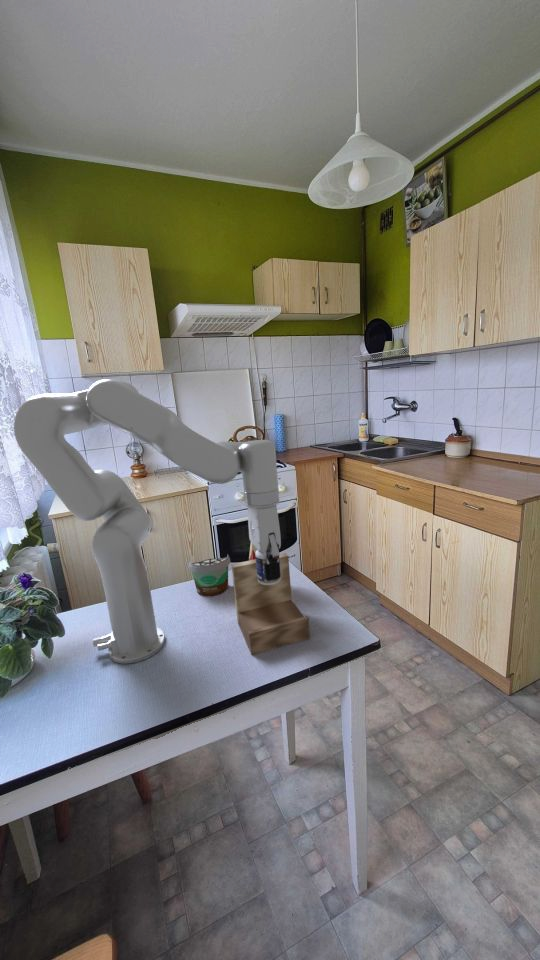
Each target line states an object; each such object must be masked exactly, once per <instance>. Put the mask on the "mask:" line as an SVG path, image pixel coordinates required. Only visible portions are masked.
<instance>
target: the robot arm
mask: <svg viewBox="0 0 540 960" xmlns="http://www.w3.org/2000/svg"><path fill="white" fill-rule="evenodd" d="M107 425H110V426H112V427H114V428H116V429H118V430H120V431H121V432H124V433H125V434H127V435H130V436H131V437H132V438H135V439H137V440H139V441H141V442H143V443H145V444H146V445H148V446H151V447H152V448H153V449H155V451H157V452H158V453H160V454H161V455H163V457H166V459H168V460H169V461H170V462H172V463H173V464H175V465H177V466H178V467H180V468H182V469H183V470H186V471H187V472H188V473H191V474H193V475H195V476H197V477H198V478H201V479H203V480H205V481H207V482H209V483H212V484H216V485H217V484H218V485H223V484H227V483H230V482H231V481H233V480H234V479H235V478H236V477H237V475H238V473H241V474H242V482H243V494H244V503H245V504H244V505H245V507H247V520H248V521H247V524H248V538H249V541H250V544H251V543H252V544H253V545H254V547H255V548H256V550H258V551H259V552H260V553H263V552H264V555H265V561H266V563H264V566H265V576H266V580H267V581H269V580H273V579H278V578H280V569H279V555H280V554H281V553H280V551H279V550H280V549H281V545H282V543H281V542H282V541H281V538H282V537H281V528H280V522H279V521H280V520H279V512H278V508H277V506H278V505H279V504H280V493H279V478H278V466H277V465H278V464H277V455H276V454H277V453H276V445H275V443H274V442H273V441H272V440H269V439H255V440H253V439H252V440H248V441H244V442H242V441H218V442H214V441H213V440H210V439H209V438H208V437H207V438H206V437H205V436H202V435H201V434H199V433H197V432H196V431H194V429H193V430H192V429H191V428H190V427H189V426H187V425H186V424H185V423H184V422H183V421H182V420H181V418H180V417H179V416H178V415H177V414H176V413H175V412H174V411H172V410H171V409H170V408H168V407H165V406H163V405H162V404H160V403H159V402H156V401H154V400H152V399H150V398H149V397H147V396H145V395H143V394H141V393H140V392H139V391H138V390H137V387H136V386H134V385H132V384H131V383H129V382H127V381H124V380H118V379H117V380H116V379H107V378H106V379H100V380H98V381H96V382H94V383H93V384H92V385H91V386H90V387H89V389H85V390H82V391H76V392H72V393H42V394H37V395H34V396H32V397H30V398H28V399H26V400H25V401H24V402H23V403H22V404H21V405H20V406H19V408H18V410H17V412H16V415H15V418H14V422H13V432H14V437H15V440H16V443H17V444H18V447H19V449H20V450H21V452H22V454H24V455H25V457H26V458H27V459H28V460H29V461H30V463H31V464H32V465H33V466H34V468H36V469H37V471H38V472H39V473H40V474H41V476H42V478H43V479H45V481H46V483H47V484H48V485H49V487H50V488H51V489H52V490H53V491H54V494H56V495H57V497H58V498H59V499H60V501H61V502H62V503H63V505H64V506H65V507H66V509H67V510H68V511H69V512H70V513H71V514H72V516H74V517H75V518H76V519H77V520H80V521H82V522H93V521H95V520H98V519H100V518H101V517H102V518H103V520H104V522H103V523H102V524H100V526H99V527H98V528H97V530H96V531H95V532H94V535H93V537H92V540H91V548H92V549H91V550H92V553H93V557H94V559H95V561H96V564H97V567H98V569H99V572H100V576H101V581H102V585H103V590H104V595H105V596H104V597H105V601H106V605H107V611H108V615H109V621H110V628H111V632H108V633H107V634H106V635H102V636H98V637H97V636H96V637H94V638H92V645H93V647H97V651H104V650H108V656H109V658H110V660H112V661H113V662H115V663H118V664H134V663H138V662H141V661H145V660H147V659H149V658H151V657H152V656H154V655H155V654H156V653H158V652H159V651H160V650H161V648H163V646H164V644H165V641H166V637H165V636H166V635H165V632H164V631H163V630H162V628H160V627H158V626H157V622H156V617H155V616H156V615H155V612H154V611H155V610H154V605H153V598H152V592H151V586H150V580H149V575H148V570H147V569H148V568H147V566H146V563H145V559H144V557H143V554H142V546H143V544H144V542H145V541H146V539H147V538H148V537H149V535H150V533H151V529H152V521H151V518H150V516H149V514H148V512H147V510H146V509H145V508H144V506H143V504H142V503H141V502H140V500H138V498H137V497H136V495H135V494H134V493H133V492H132V490H131V489H130V487H129V486H128V484H127V483H126V482H125V480H124V479H122V477H120V475H118V474H116V473H115V472H113V471H111V470H108V469H96V470H94V469H93V468H92V467H91V466H90V464H88V462H87V461H86V459H85V457H84V456H83V454H81V453H80V451H79V450H77V449H76V448H75V447H74V446H73V445H71V444H70V443H69V442H68V440H66V438H65V435H69V434H74V433H80V432H84V431H87V430H89V429H95V428H98V427H102V426H107ZM269 546H270V548H271V549H267V547H269ZM268 552H272V553H271V555H269V557H268Z"/></svg>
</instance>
